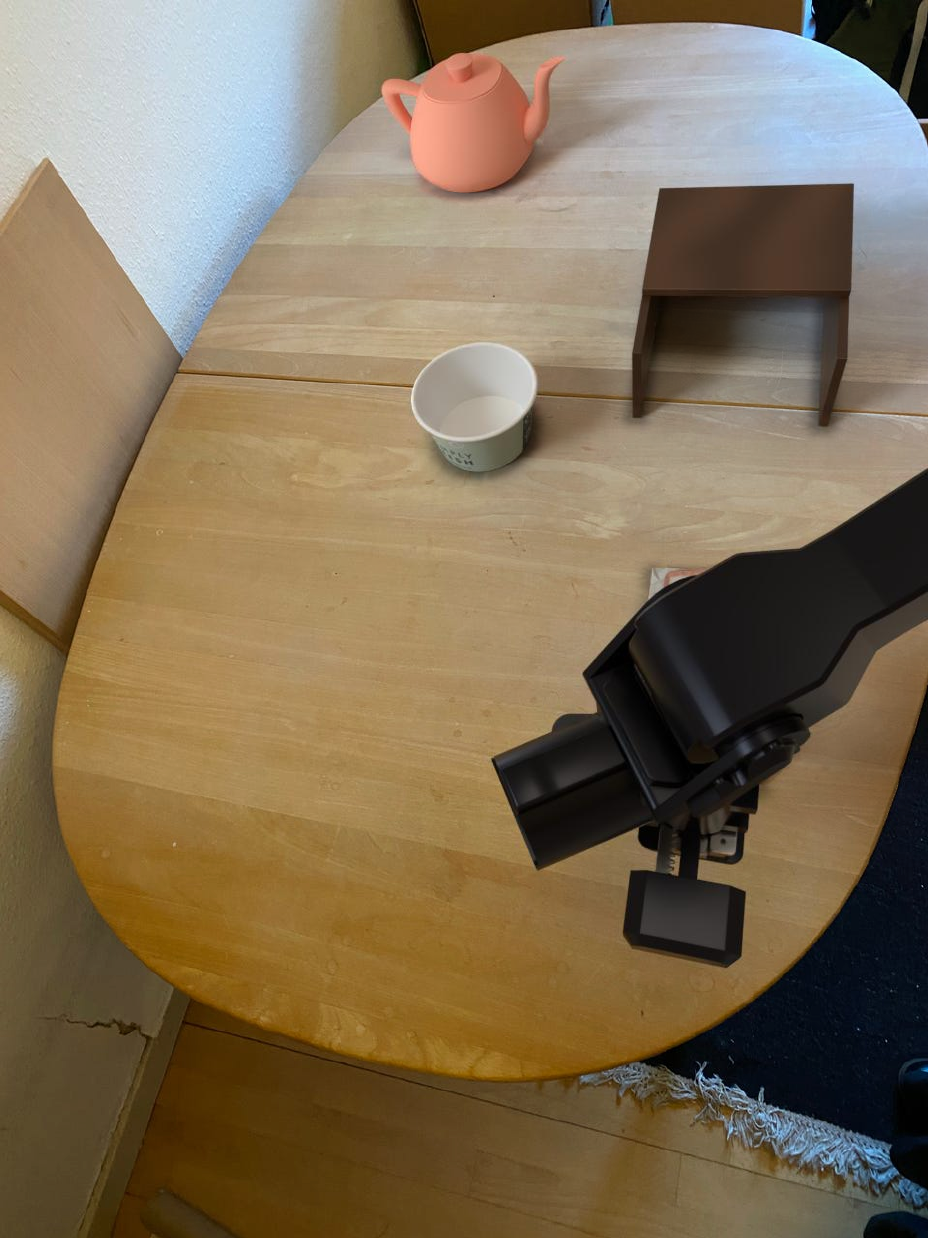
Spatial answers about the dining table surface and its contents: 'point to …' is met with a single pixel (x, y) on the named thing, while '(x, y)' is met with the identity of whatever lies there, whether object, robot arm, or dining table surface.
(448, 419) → the food container
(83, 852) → the dining table surface
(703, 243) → the cubby shelf
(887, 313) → the dining table surface
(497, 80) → the teapot
